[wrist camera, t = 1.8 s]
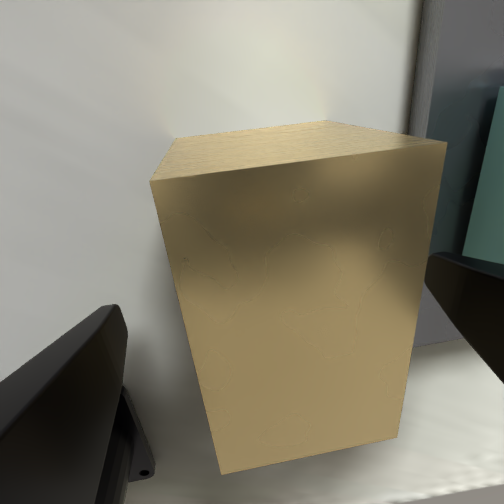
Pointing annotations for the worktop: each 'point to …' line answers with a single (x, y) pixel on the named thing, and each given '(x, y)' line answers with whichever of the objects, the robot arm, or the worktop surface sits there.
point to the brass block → (299, 280)
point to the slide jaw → (489, 197)
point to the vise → (455, 122)
